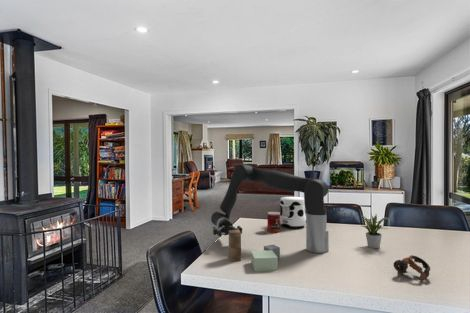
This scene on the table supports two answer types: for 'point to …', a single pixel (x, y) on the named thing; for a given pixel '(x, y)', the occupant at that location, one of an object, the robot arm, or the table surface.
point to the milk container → (292, 212)
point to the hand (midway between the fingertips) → (229, 234)
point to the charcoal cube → (275, 250)
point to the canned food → (273, 222)
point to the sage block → (264, 260)
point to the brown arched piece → (404, 264)
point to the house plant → (373, 232)
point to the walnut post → (234, 245)
